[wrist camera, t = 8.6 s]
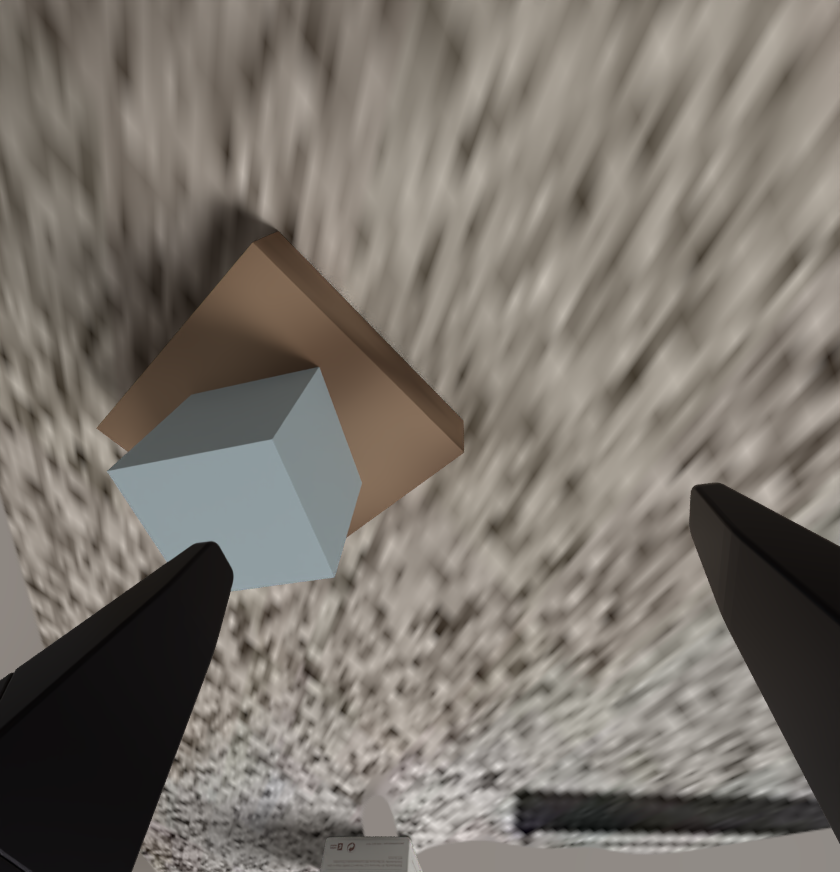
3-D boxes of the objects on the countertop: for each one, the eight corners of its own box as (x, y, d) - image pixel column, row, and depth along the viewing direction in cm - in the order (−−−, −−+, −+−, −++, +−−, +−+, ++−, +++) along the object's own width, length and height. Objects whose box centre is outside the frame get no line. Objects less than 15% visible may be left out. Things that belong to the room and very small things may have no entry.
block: (319, 366, 17) (272, 439, 13) (361, 482, 19) (334, 577, 15) (191, 394, 18) (107, 471, 14) (247, 502, 20) (189, 596, 16)
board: (463, 421, 21) (463, 452, 18) (308, 537, 24) (294, 575, 22) (278, 231, 17) (252, 242, 15) (133, 400, 21) (96, 428, 19)
